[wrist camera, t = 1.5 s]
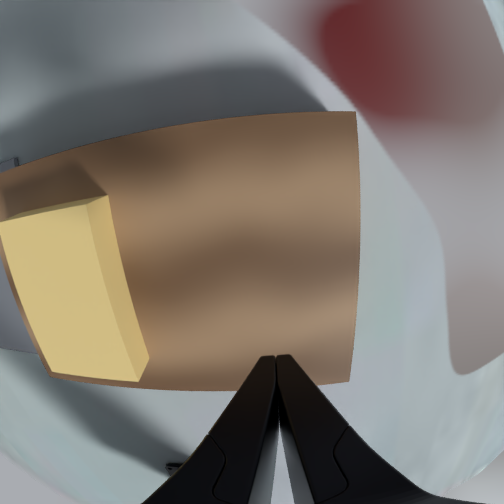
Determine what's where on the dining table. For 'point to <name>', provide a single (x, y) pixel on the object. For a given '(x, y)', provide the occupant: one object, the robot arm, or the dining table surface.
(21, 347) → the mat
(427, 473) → the dining table surface
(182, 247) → the brown wooden flat block
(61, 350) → the yellow rectangular block
